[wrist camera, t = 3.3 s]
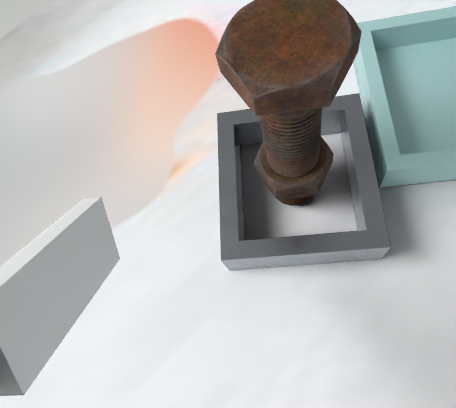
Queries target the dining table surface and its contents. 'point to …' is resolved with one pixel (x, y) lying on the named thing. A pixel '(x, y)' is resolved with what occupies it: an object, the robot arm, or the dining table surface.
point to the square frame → (307, 244)
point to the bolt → (290, 84)
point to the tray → (410, 95)
